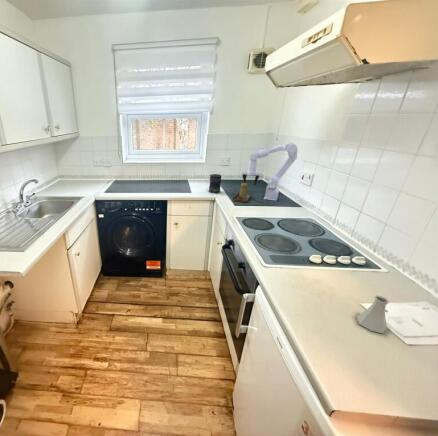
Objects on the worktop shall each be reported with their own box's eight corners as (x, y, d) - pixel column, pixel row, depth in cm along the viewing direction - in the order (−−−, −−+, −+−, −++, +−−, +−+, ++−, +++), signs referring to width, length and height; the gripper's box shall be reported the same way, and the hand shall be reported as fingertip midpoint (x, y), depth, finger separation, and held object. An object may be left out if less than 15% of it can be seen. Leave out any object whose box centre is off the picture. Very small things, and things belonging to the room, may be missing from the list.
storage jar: (211, 189, 220) (212, 173, 214) (221, 191, 214) (223, 174, 209) (207, 192, 212) (208, 175, 207) (217, 193, 207) (219, 177, 201)
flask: (386, 337, 70) (399, 311, 66) (355, 325, 75) (365, 300, 71) (386, 322, 75) (398, 298, 71) (356, 311, 80) (366, 287, 76)
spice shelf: (250, 196, 197) (251, 192, 196) (246, 202, 183) (247, 198, 182) (238, 195, 202) (238, 190, 201) (233, 201, 188) (233, 196, 187)
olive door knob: (238, 197, 191) (240, 183, 187) (238, 195, 196) (240, 182, 192) (246, 197, 189) (248, 184, 185) (246, 195, 194) (248, 182, 190)
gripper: (241, 168, 189) (239, 184, 194) (261, 169, 182) (258, 186, 187) (243, 166, 194) (241, 182, 199) (262, 167, 187) (259, 184, 192)
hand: (249, 184), depth 193 cm, fingers open, 7 cm apart
